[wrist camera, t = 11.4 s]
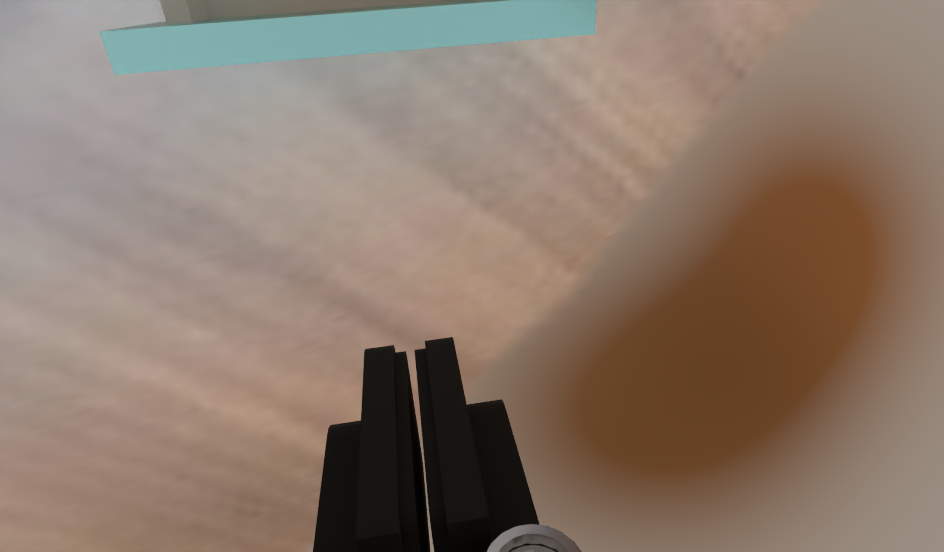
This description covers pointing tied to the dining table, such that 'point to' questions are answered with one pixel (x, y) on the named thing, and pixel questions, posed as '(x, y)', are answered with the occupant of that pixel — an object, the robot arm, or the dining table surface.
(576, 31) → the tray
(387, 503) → the robot arm
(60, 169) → the dining table surface
